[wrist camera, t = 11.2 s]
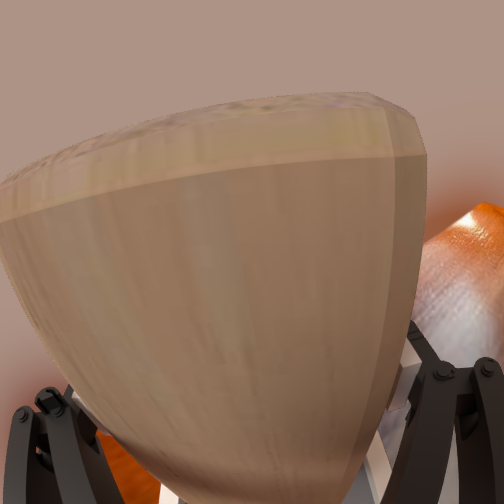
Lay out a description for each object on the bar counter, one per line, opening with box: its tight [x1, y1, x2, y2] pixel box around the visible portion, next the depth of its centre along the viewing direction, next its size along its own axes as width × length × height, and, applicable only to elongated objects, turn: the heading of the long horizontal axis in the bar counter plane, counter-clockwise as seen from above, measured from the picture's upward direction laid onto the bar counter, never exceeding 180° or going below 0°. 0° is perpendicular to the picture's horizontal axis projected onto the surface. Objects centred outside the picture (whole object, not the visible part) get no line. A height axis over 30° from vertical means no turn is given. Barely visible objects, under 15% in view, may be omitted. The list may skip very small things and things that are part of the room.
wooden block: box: [0, 92, 427, 504], centre depth 12 cm, size 10×10×20 cm
